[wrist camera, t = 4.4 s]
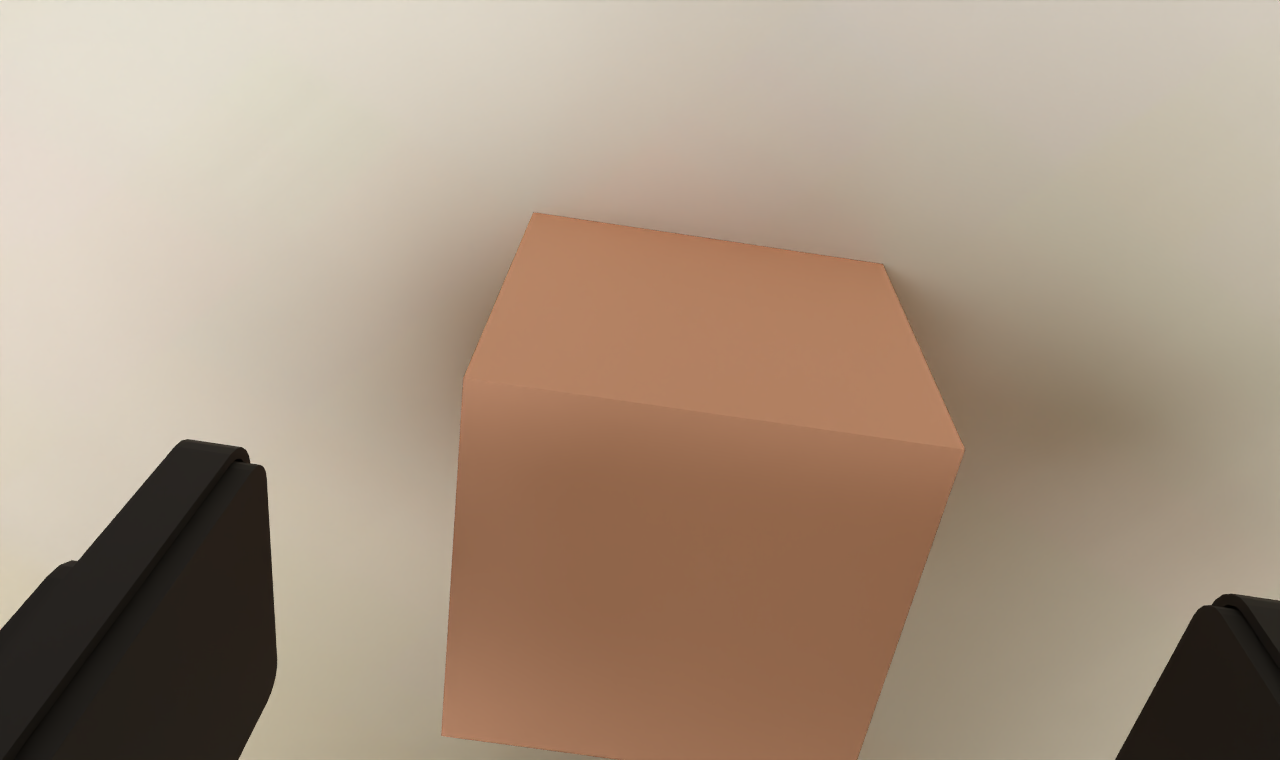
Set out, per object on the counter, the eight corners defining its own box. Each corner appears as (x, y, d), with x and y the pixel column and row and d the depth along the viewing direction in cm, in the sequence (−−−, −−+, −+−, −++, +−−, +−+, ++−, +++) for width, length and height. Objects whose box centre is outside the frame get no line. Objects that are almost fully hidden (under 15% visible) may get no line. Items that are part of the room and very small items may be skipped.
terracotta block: (805, 539, 17) (846, 790, 12) (507, 498, 17) (441, 735, 12) (881, 261, 14) (964, 449, 10) (533, 210, 14) (463, 377, 10)
